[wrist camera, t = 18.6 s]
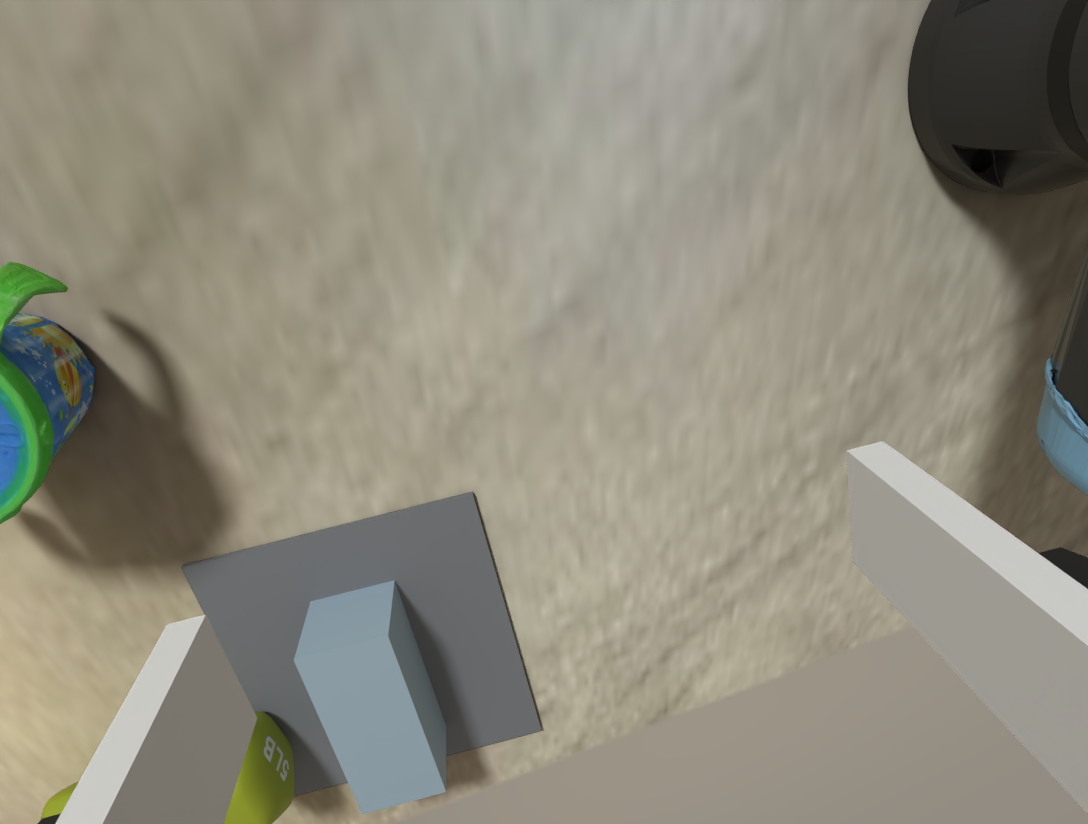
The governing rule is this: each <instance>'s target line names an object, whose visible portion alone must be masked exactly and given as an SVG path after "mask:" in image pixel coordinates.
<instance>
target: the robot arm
mask: <svg viewBox="0 0 1088 824" xmlns="http://www.w3.org/2000/svg"><path fill="white" fill-rule="evenodd" d="M909 103H910V111H911V116H912V120H913V124H914V128H915V130H916V133H917V136H918V138H919V140H920V143H921V145H922V146H923V148H924V150H925V152H926V153H927V155H928V156H929V158H930V159H931V160H932V161H933V163H934V164H935V165H936V166H937V167H938V168H939V169H940V170H941V171H942V172H943V173H945V174H946V175H947V176H948V177H950V178H951V179H953V180H955V181H956V182H958V183H960V184H962V185H965V186H967V187H970V188H973V189H977V190H981V191H988V192H996V193H1005V194H1034V193H1041V192H1046V191H1051V190H1054V189H1058V188H1061V187H1064V186H1068V185H1071V184H1074V183H1078V182H1081V181H1084V180H1088V0H931V2H930V4H929V6H928V8H927V10H926V12H925V14H924V17H923V19H922V22H921V24H920V27H919V30H918V33H917V36H916V39H915V43H914V47H913V51H912V56H911V62H910V70H909ZM1045 381H1046V386H1045V390H1044V394H1043V398H1042V402H1041V406H1040V410H1039V415H1038V419H1037V427H1036V429H1037V437H1038V441H1039V444H1040V446H1041V447H1042V449H1043V451H1044V452H1045V454H1046V455H1047V456H1048V460H1049V461H1050V463H1051V464H1052V466H1053V467H1054V468H1055V469H1056V470H1057V471H1058V472H1059V473H1060V474H1061V475H1062V476H1063V477H1064V478H1065V479H1066V480H1067V481H1069V482H1070V483H1071V484H1072V485H1074V486H1075V487H1076V488H1077V489H1079V490H1080V491H1082V492H1083V493H1084V494H1086V495H1087V496H1088V244H1087V248H1086V251H1085V254H1084V257H1083V260H1082V263H1081V267H1080V270H1079V273H1078V276H1077V279H1076V282H1075V286H1074V289H1073V292H1072V295H1071V298H1070V301H1069V305H1068V308H1067V311H1066V314H1065V317H1064V320H1063V324H1062V327H1061V330H1060V333H1059V336H1058V340H1057V343H1056V346H1055V349H1054V352H1053V354H1052V355H1051V357H1050V358H1049V359H1048V360H1047V363H1046V366H1045ZM847 468H848V486H849V504H850V522H851V540H852V558H853V563H854V564H855V565H856V566H857V567H858V568H859V569H860V570H861V572H862V573H863V574H864V575H865V576H866V577H867V578H868V579H869V580H870V581H871V582H872V583H873V584H874V585H875V587H876V588H877V589H878V590H879V591H880V592H881V593H882V594H883V595H884V596H885V597H886V598H887V599H888V600H889V602H890V603H891V604H892V605H893V606H894V607H895V608H896V609H897V610H898V611H899V612H900V613H901V614H902V615H903V617H904V618H905V619H906V620H907V621H908V622H909V623H910V624H911V625H912V626H913V627H914V628H915V629H916V630H917V632H918V633H919V634H920V635H921V636H922V637H923V638H924V639H925V640H926V641H927V642H928V643H929V644H930V645H931V647H932V648H933V649H934V650H935V651H936V652H937V653H938V654H939V655H940V656H941V657H942V658H943V659H944V661H946V662H947V664H948V665H949V666H950V667H951V668H952V669H953V670H954V671H955V672H956V673H957V674H958V675H959V676H960V678H962V680H963V681H964V682H965V683H966V684H967V685H968V686H969V687H970V688H971V689H972V691H973V692H974V693H975V694H976V695H977V696H978V697H979V698H980V699H981V700H982V701H983V702H984V703H985V704H986V705H987V706H988V708H989V709H990V710H991V711H992V712H993V713H994V714H995V715H996V716H997V717H998V718H999V719H1000V720H1001V722H1002V723H1003V724H1004V725H1005V726H1006V727H1007V728H1008V729H1009V730H1010V731H1011V732H1012V733H1013V734H1014V736H1016V738H1017V739H1018V740H1019V741H1020V742H1021V743H1022V744H1023V745H1024V746H1025V747H1026V748H1027V749H1028V751H1029V752H1030V753H1031V754H1032V755H1033V756H1034V757H1035V758H1036V759H1037V760H1038V761H1039V762H1040V763H1041V764H1042V766H1043V767H1044V768H1045V769H1046V770H1047V771H1048V772H1049V773H1050V774H1051V775H1052V776H1053V777H1054V778H1055V779H1056V781H1058V782H1059V784H1060V785H1061V786H1062V787H1063V788H1064V789H1065V790H1066V791H1067V792H1068V793H1069V794H1070V796H1072V798H1073V799H1074V800H1075V801H1076V802H1077V803H1078V804H1079V805H1080V806H1081V807H1082V808H1083V809H1084V811H1085V812H1086V813H1087V814H1088V558H1087V557H1084V556H1082V555H1079V554H1076V553H1074V552H1071V551H1068V550H1066V549H1063V548H1061V547H1060V548H1056V549H1053V550H1049V551H1045V552H1041V553H1037V552H1036V551H1034V550H1033V549H1031V548H1030V547H1029V546H1027V545H1026V544H1024V543H1023V542H1022V541H1020V540H1019V539H1018V538H1016V537H1015V536H1013V535H1012V534H1011V533H1009V532H1008V531H1006V530H1005V529H1004V528H1002V527H1001V526H1000V525H998V524H997V523H995V522H994V521H993V520H991V519H990V518H988V517H987V516H986V515H984V514H983V513H981V512H980V511H979V510H977V509H976V508H975V507H973V506H972V505H970V504H969V503H968V502H966V501H965V500H963V499H962V498H961V497H959V496H958V495H957V494H955V493H954V492H952V491H951V490H950V489H948V488H947V487H945V486H944V485H943V484H941V483H940V482H938V481H937V480H936V479H934V478H933V477H932V476H930V475H929V474H927V473H926V472H925V471H923V470H922V469H920V468H919V467H918V466H916V465H915V464H914V463H912V462H911V461H909V460H908V459H907V458H905V457H904V456H902V455H901V454H900V453H898V452H897V451H895V450H894V449H893V448H891V447H890V446H889V445H887V444H886V443H884V442H883V441H882V442H878V443H874V444H870V445H866V446H862V447H858V448H854V449H851V450H847ZM256 721H257V716H256V714H255V712H254V710H253V708H252V706H251V704H250V702H249V700H248V698H247V696H246V694H245V692H244V690H243V688H242V686H241V684H240V682H239V680H238V678H237V676H236V674H235V672H234V670H233V668H232V666H231V664H230V662H229V660H228V658H227V656H226V654H225V652H224V650H223V648H222V646H221V644H220V642H219V640H218V638H217V636H216V634H215V632H214V630H213V628H212V626H211V624H210V622H209V620H208V618H207V616H206V615H202V616H199V617H195V618H191V619H187V620H183V621H179V622H175V623H171V624H167V626H166V628H165V629H164V631H163V633H162V635H161V636H160V638H159V640H158V642H157V644H156V645H155V647H154V649H153V651H152V652H151V654H150V656H149V658H148V660H147V661H146V663H145V665H144V667H143V668H142V670H141V672H140V674H139V676H138V677H137V679H136V681H135V683H134V685H133V686H132V688H131V690H130V692H129V693H128V695H127V697H126V699H125V701H124V702H123V704H122V706H121V708H120V709H119V711H118V713H117V715H116V717H115V718H114V720H113V722H112V724H111V725H110V727H109V729H108V731H107V733H106V734H105V736H104V738H103V740H102V742H101V743H100V745H99V747H98V749H97V750H96V752H95V754H94V756H93V758H92V759H91V761H90V763H89V765H88V766H87V768H86V770H85V772H84V774H83V775H82V777H81V779H80V781H79V782H78V784H77V786H76V788H75V790H74V791H73V793H72V795H71V797H70V799H69V800H68V802H67V804H66V806H65V807H64V809H63V811H62V813H61V814H57V815H53V816H49V817H46V818H42V820H41V821H40V822H39V823H38V824H224V821H225V817H226V814H227V811H228V808H229V805H230V802H231V799H232V796H233V792H234V789H235V786H236V783H237V780H238V777H239V774H240V771H241V767H242V764H243V761H244V758H245V755H246V752H247V749H248V746H249V742H250V739H251V736H252V733H253V730H254V727H255V724H256Z"/></svg>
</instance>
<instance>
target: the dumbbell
mask: <svg viewBox="0 0 1088 824" xmlns="http://www.w3.org/2000/svg"><path fill="white" fill-rule="evenodd" d="M255 714H256V716H257V721H256V724H255V727H254V730H253V733H252V736H251V739H250V742H249V746H248V749H247V752H246V755H245V758H244V761H243V764H242V767H241V771H240V774H239V777H238V780H237V783H236V786H235V789H234V792H233V796H232V799H231V802H230V805H229V808H228V811H227V814H226V817H225V821H224V824H272V823H273V822H274V821H275V820H276V819H277V818H278V817H279V816H280V815H281V814H282V813H283V812H284V811H285V810H286V809H287V808H288V807H289V805H290V804H291V802H292V799H293V796H294V763H293V753H292V748H291V745H290V743H289V741H288V739H287V738H286V736H285V735H284V733H283V732H282V731H281V729H280V728H279V727H278V725H277V724H276V723H275V721H274V720H273V719H272V718H271V717H270V716H269V715H267V714H266V713H264V712H259V711H258V712H255ZM78 782H79V781H78ZM78 782H76V783H74V784H72V785H70V786H68V787H67V788H65V789H63V790H61V791H60V792H58V793H57V794H55V795H54V796H53V797H51V798H50V800H49V801H48V802H47V803H46V805H45V807H44V809H43V813H42V816H41V820H42V818H46V817H49V816H53V815H57V814H61V813H62V811H63V809H64V807H65V806H66V804H67V802H68V800H69V799H70V797H71V795H72V793H73V791H74V790H75V788H76V786H77V784H78Z"/></svg>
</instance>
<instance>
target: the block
mask: <svg viewBox="0 0 1088 824" xmlns="http://www.w3.org/2000/svg"><path fill="white" fill-rule="evenodd" d="M294 662H295V665H296V667H297V669H298V671H299V674H300V676H301V678H302V680H303V683H304V685H305V687H306V689H307V692H308V694H309V696H310V698H311V700H312V703H313V705H314V707H315V709H316V712H317V714H318V716H319V718H320V721H321V723H322V725H323V727H324V730H325V732H326V734H327V736H328V739H329V741H330V743H331V745H332V748H333V750H334V752H335V754H336V757H337V759H338V761H339V763H340V766H341V768H342V770H343V772H344V775H345V777H346V779H347V781H348V784H349V786H350V788H351V790H352V793H353V795H354V797H355V799H356V802H357V804H358V806H359V808H360V811H361V813H362V814H366V813H369V812H373V811H377V810H381V809H384V808H388V807H392V806H396V805H400V804H403V803H407V802H411V801H415V800H418V799H422V798H426V797H430V796H434V795H437V794H441V793H445V792H446V724H445V721H444V718H443V716H442V713H441V710H440V707H439V704H438V701H437V699H436V696H435V693H434V690H433V687H432V684H431V682H430V679H429V676H428V673H427V670H426V668H425V665H424V662H423V659H422V656H421V653H420V651H419V648H418V645H417V642H416V639H415V637H414V634H413V631H412V628H411V625H410V622H409V620H408V617H407V614H406V611H405V608H404V605H403V603H402V600H401V597H400V594H399V591H398V589H397V586H396V583H395V580H394V581H390V582H386V583H382V584H378V585H374V586H370V587H366V588H362V589H358V590H354V591H350V592H346V593H342V594H338V595H334V596H330V597H326V598H322V599H318V600H315V601H311V602H310V605H309V609H308V612H307V616H306V619H305V623H304V626H303V629H302V633H301V636H300V640H299V643H298V647H297V650H296V654H295V657H294Z"/></svg>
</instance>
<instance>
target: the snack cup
mask: <svg viewBox="0 0 1088 824" xmlns="http://www.w3.org/2000/svg"><path fill="white" fill-rule="evenodd" d="M67 290H68V287H66V286H65V285H64V284H63V283H62V282H60V281H58V280H57V279H54V278H52V277H50V276H48V275H46V274H43V273H41V272H39V271H37V270H35V269H33V268H30V267H28V266H25V265H22V264H20V263H13V262H8V263H7V264H5V265H3V267H2V268H0V524H1V523H3V522H5V521H6V520H8V519H10V518H12V517H14V516H15V515H16V514H17V513H18V512H19V511H20V509H21V507H22V505H23V504H24V503H25V502H26V501H28V500H29V499H30V498H31V497H32V495H33V494H34V493H35V492H36V491H37V490H38V488H39V487H40V486H41V484H42V482H43V481H44V479H45V477H46V476H47V473H48V469H49V466H50V463H51V461H52V460H53V458H54V457H55V455H56V454H57V453H58V451H59V450H60V449H61V447H62V446H63V445H64V443H65V442H66V441H67V439H68V438H69V436H70V435H71V434H72V432H73V431H74V430H75V428H76V427H77V426H78V424H79V423H80V421H81V420H82V418H83V416H84V415H85V414H86V412H87V410H88V408H89V406H90V404H91V400H92V396H93V387H94V373H95V368H94V366H93V365H92V364H90V362H89V361H88V359H87V357H86V355H85V354H84V352H83V350H82V349H81V347H80V346H79V345H78V344H77V343H76V342H75V340H74V339H73V338H72V337H71V336H69V335H68V334H67V333H66V332H65V331H64V330H62V329H61V328H60V327H59V326H58V325H57V324H56V323H55V322H53V321H50V320H47V319H45V318H43V317H37V316H33V315H28V314H23V313H18V312H19V311H20V310H21V309H22V308H23V306H24V305H25V304H26V303H27V302H28V301H29V299H31V298H32V297H33V296H34V295H39V294H47V293H57V292H66V291H67Z"/></svg>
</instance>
